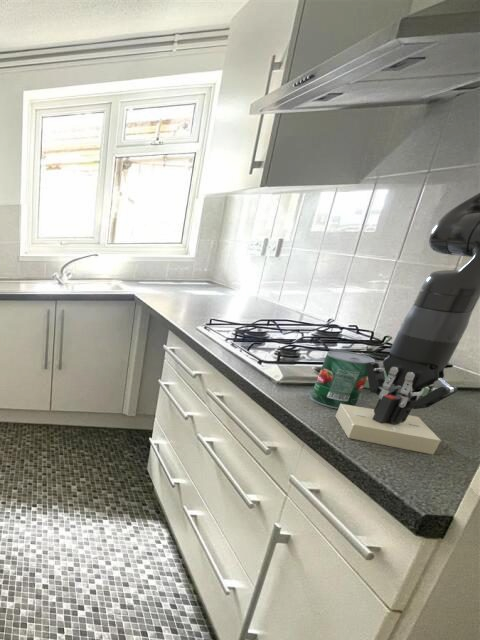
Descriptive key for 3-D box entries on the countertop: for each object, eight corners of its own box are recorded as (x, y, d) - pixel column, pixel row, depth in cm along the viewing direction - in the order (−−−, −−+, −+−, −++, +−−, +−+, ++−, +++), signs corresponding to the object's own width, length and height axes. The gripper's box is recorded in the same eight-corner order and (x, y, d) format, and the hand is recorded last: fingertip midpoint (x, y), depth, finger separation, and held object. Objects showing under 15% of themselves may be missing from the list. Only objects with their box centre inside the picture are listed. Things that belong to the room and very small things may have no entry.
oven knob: (392, 417, 81) (404, 392, 78) (401, 421, 79) (414, 396, 77) (371, 419, 80) (383, 394, 78) (380, 423, 78) (392, 398, 76)
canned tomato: (302, 393, 98) (318, 349, 93) (339, 395, 96) (358, 351, 92) (323, 408, 90) (342, 361, 86) (364, 411, 89) (385, 363, 85)
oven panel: (411, 430, 82) (418, 415, 81) (433, 455, 74) (441, 439, 73) (335, 416, 87) (340, 402, 86) (348, 438, 79) (354, 423, 78)
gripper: (498, 345, 67) (445, 437, 74) (401, 321, 79) (364, 402, 86) (463, 347, 65) (413, 441, 73) (370, 323, 78) (335, 405, 85)
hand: (386, 420), depth 79 cm, fingers closed, pressing on oven knob
